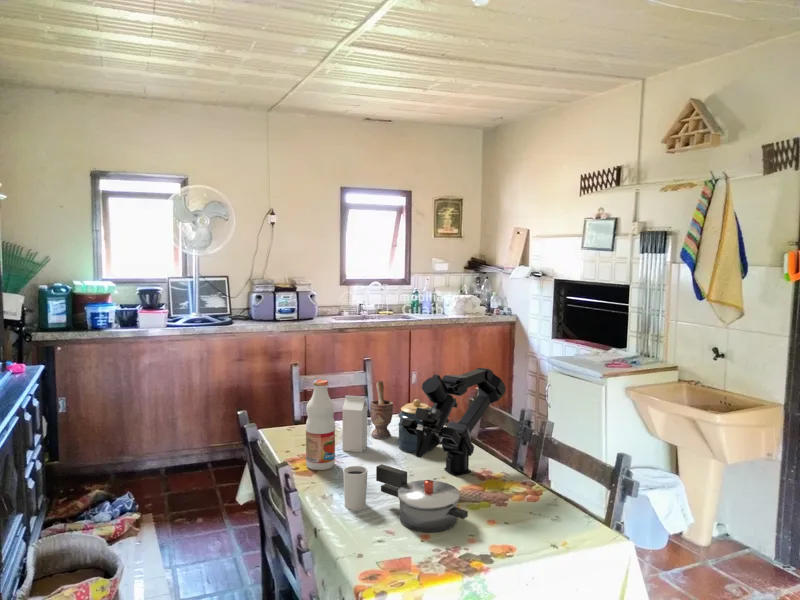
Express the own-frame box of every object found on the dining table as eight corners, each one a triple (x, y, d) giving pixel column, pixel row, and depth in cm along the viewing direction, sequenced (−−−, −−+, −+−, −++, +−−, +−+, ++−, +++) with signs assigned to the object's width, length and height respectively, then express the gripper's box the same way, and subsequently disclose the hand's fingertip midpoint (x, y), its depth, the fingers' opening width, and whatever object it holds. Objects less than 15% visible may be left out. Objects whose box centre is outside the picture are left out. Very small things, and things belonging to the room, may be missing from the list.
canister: (440, 446, 215) (441, 398, 214) (422, 456, 204) (423, 405, 203) (410, 439, 222) (410, 393, 221) (391, 449, 211) (391, 400, 210)
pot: (399, 494, 172) (400, 474, 171) (480, 522, 155) (481, 499, 154) (365, 512, 160) (365, 490, 159) (448, 543, 143) (448, 519, 143)
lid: (396, 472, 172) (397, 457, 172) (470, 494, 157) (471, 479, 156) (359, 489, 160) (359, 473, 159) (436, 515, 144) (436, 498, 144)
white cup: (356, 498, 169) (356, 464, 168) (372, 505, 164) (372, 470, 163) (338, 505, 164) (338, 469, 163) (353, 512, 159) (353, 476, 159)
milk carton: (361, 452, 207) (362, 399, 206) (342, 451, 208) (342, 397, 207) (367, 446, 214) (367, 394, 212) (348, 444, 215) (348, 393, 214)
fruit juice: (309, 460, 199) (309, 377, 197) (337, 461, 199) (337, 378, 196) (302, 470, 190) (302, 383, 188) (332, 471, 189) (332, 384, 187)
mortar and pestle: (362, 432, 230) (363, 381, 229) (382, 429, 234) (383, 379, 233) (375, 440, 220) (376, 387, 219) (396, 437, 224) (397, 385, 223)
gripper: (404, 391, 182) (380, 436, 174) (455, 401, 170) (432, 449, 162) (420, 411, 188) (397, 455, 181) (470, 422, 177) (448, 469, 169)
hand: (418, 456), depth 173 cm, fingers closed
